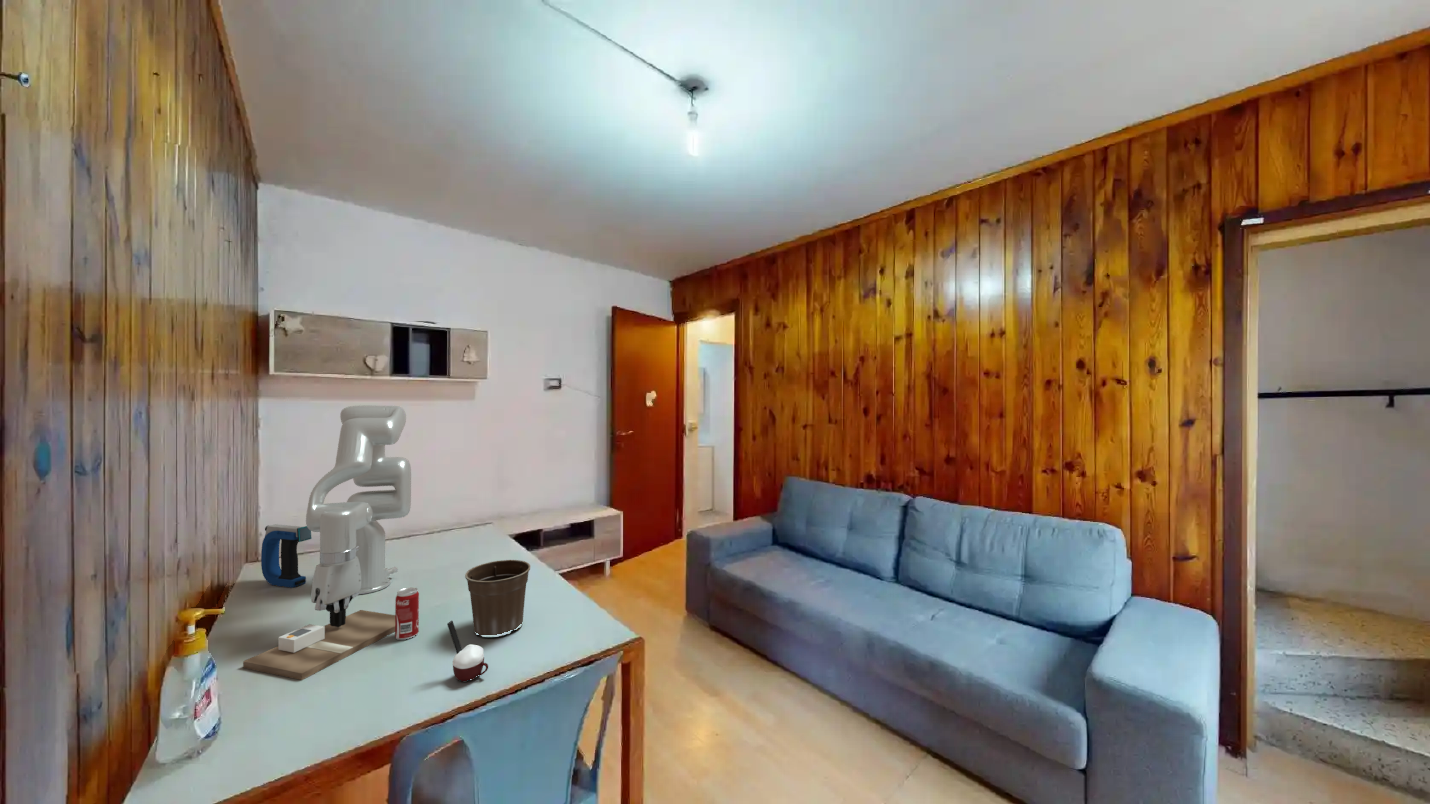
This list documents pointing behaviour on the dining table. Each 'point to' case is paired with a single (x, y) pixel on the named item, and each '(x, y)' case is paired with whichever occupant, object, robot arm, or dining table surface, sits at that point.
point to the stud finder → (301, 638)
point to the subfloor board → (326, 646)
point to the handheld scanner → (283, 554)
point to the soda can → (406, 613)
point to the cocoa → (466, 658)
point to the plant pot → (497, 595)
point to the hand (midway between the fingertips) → (337, 625)
